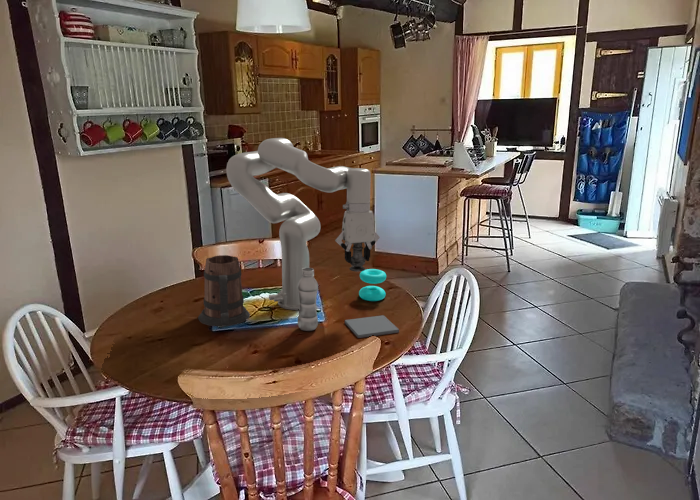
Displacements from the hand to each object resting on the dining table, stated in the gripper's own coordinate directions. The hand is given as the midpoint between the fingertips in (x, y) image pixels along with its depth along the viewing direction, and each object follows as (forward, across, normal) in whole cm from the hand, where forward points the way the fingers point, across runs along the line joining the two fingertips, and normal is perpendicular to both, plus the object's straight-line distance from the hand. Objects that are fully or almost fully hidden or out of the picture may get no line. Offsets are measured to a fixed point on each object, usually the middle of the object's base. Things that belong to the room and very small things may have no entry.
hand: (357, 260), depth 172 cm
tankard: (+19, -43, +11) cm, 48 cm away
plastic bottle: (+20, -19, -5) cm, 28 cm away
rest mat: (+20, +1, -10) cm, 22 cm away
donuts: (+20, +12, +14) cm, 28 cm away
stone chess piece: (+3, 0, 0) cm, 3 cm away
